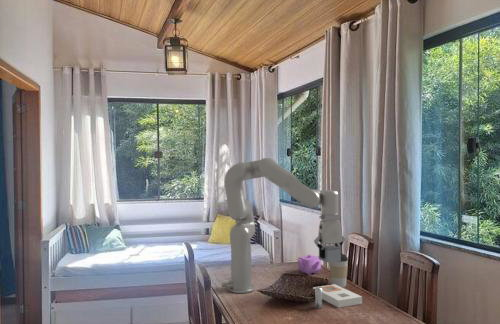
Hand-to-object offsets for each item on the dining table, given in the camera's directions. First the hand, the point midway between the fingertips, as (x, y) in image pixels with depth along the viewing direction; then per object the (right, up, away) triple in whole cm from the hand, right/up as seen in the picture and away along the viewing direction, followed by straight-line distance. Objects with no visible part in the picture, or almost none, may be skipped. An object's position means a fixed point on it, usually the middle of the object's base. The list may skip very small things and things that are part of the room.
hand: (329, 256), depth 198 cm
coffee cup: (+7, -17, +16) cm, 25 cm away
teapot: (-3, -17, +38) cm, 42 cm away
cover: (0, -1, 0) cm, 1 cm away
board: (+2, -17, -4) cm, 18 cm away
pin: (-7, -18, -15) cm, 24 cm away
